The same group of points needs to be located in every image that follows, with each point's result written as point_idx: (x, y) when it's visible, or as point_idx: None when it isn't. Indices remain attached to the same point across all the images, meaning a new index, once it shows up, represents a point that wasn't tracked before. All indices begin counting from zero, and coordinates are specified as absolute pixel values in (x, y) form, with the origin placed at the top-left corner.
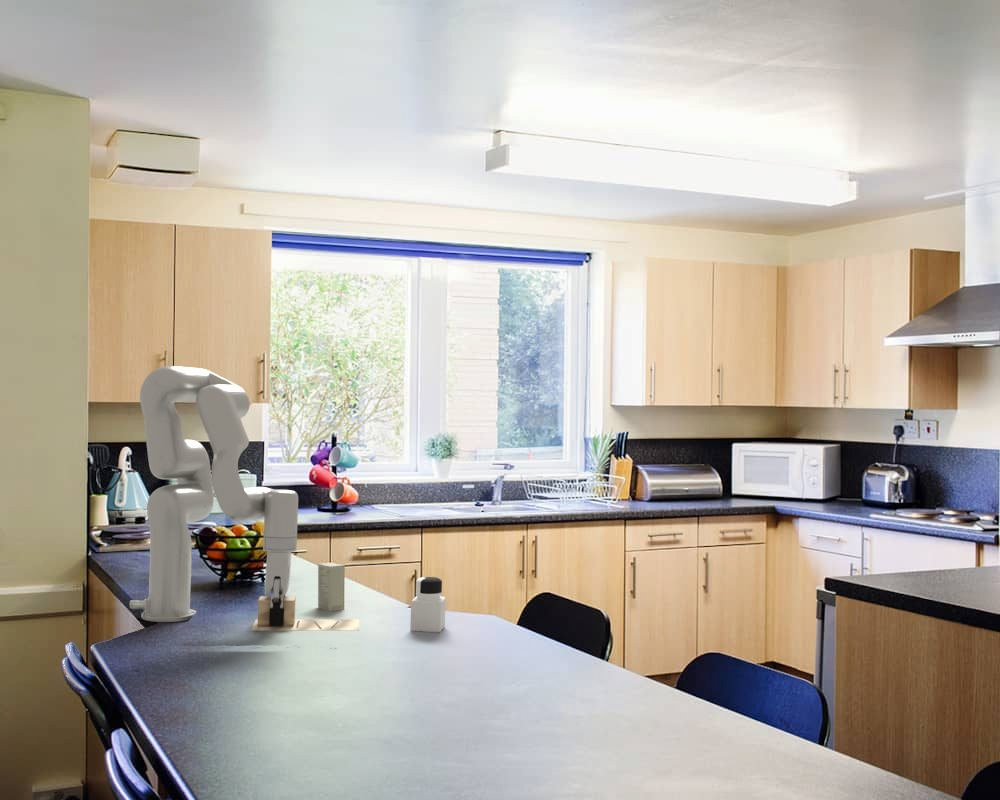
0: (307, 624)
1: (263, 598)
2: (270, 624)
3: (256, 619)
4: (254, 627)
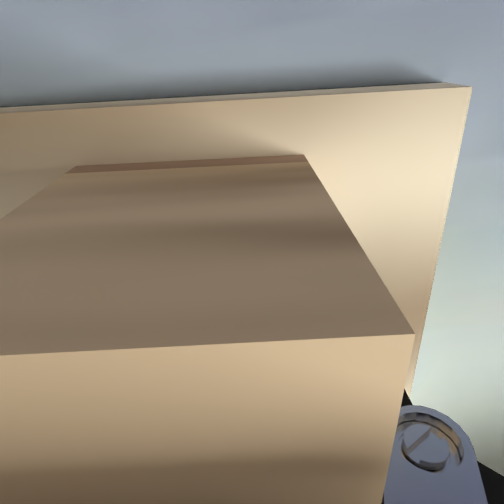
0: None
1: (111, 429)
2: None
3: (463, 96)
4: (39, 139)
